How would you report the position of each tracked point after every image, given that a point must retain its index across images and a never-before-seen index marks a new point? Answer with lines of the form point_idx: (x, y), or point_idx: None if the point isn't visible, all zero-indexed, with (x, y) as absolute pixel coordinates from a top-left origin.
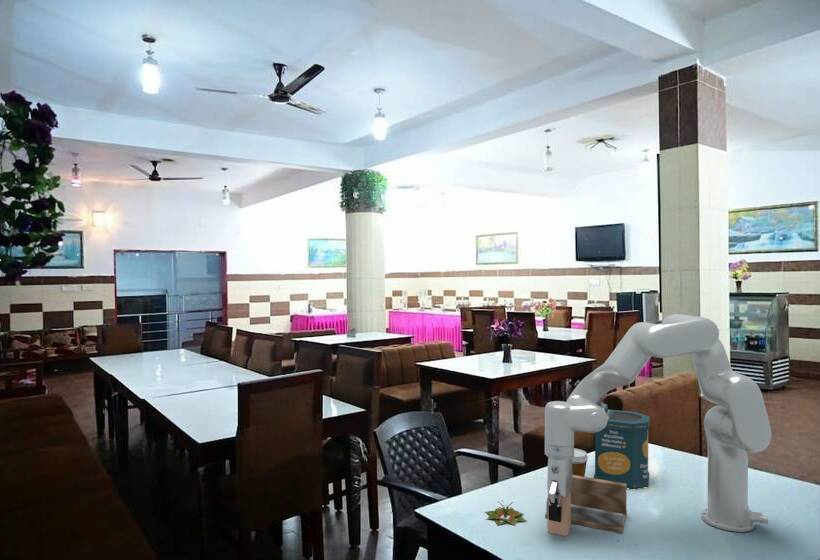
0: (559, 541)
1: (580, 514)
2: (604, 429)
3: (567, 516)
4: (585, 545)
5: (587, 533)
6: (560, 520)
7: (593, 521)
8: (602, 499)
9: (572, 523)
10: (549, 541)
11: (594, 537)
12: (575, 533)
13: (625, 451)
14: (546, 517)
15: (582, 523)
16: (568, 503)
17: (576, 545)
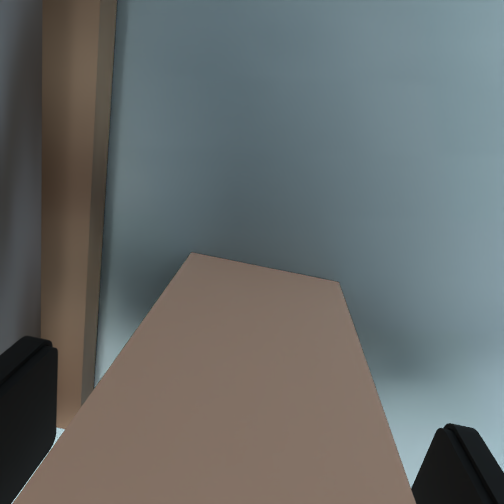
0: (433, 333)
1: (12, 183)
2: None
3: (340, 367)
4: (474, 141)
5: (240, 117)
6: (476, 441)
7: (41, 49)
8: None
9: (102, 237)
10: (444, 394)
11: (303, 53)
12: (270, 217)
13: None
14: None
15: (99, 159)
16: (273, 471)
17: (483, 215)
